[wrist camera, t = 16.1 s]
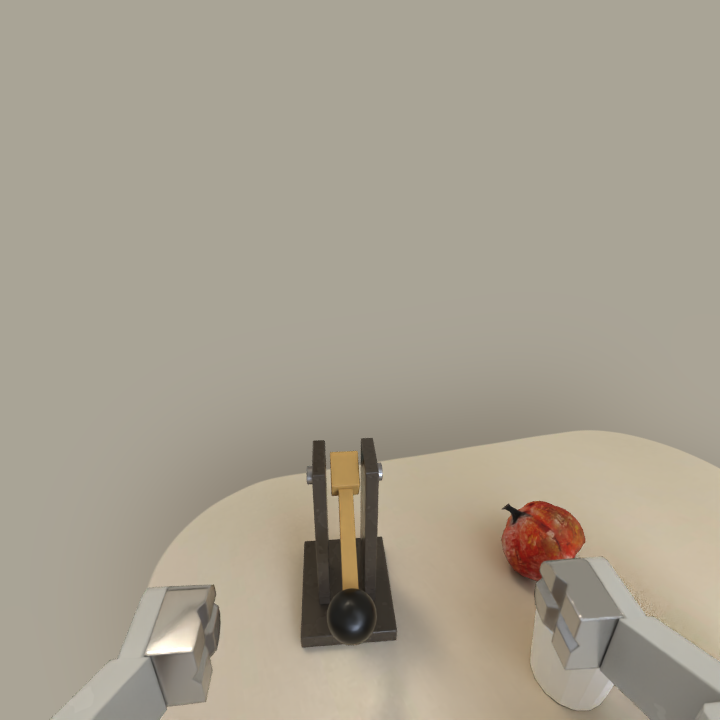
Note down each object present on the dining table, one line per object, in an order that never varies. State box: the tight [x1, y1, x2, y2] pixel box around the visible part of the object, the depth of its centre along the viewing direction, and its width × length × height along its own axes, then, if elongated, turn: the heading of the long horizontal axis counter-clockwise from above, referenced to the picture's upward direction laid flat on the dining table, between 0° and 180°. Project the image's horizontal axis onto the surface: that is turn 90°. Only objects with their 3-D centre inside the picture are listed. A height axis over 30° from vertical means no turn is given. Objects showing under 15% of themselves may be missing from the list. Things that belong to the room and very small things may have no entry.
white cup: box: [530, 608, 614, 710], centre depth 34 cm, size 7×7×7 cm
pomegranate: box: [502, 501, 585, 581], centre depth 43 cm, size 7×7×10 cm
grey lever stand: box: [301, 438, 397, 647], centre depth 39 cm, size 10×8×16 cm
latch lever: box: [327, 451, 377, 645], centre depth 33 cm, size 13×3×3 cm
